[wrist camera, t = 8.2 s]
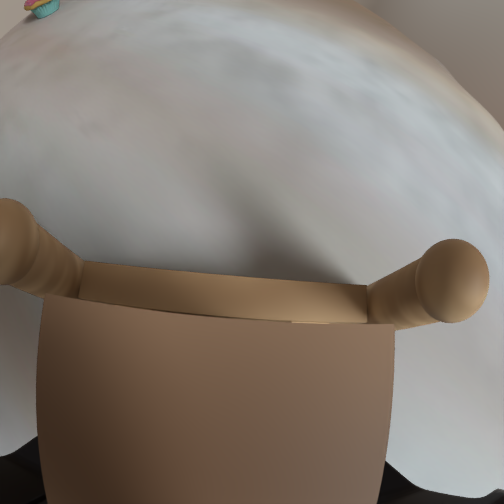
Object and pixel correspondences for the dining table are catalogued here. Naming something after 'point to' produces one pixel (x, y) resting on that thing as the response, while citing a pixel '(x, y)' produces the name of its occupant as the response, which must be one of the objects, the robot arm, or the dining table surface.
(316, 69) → the dining table surface
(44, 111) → the dining table surface
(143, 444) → the block
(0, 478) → the robot arm
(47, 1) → the cupcake
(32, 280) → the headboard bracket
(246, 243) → the dining table surface
